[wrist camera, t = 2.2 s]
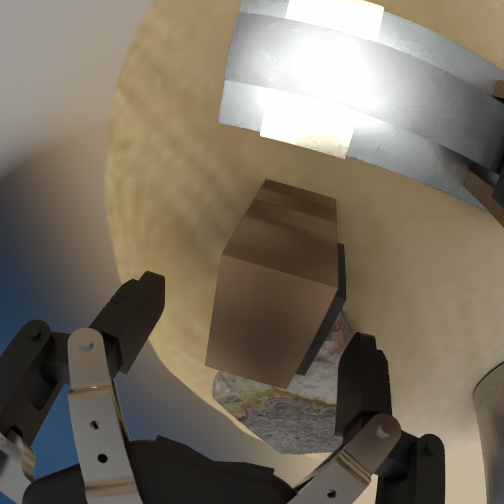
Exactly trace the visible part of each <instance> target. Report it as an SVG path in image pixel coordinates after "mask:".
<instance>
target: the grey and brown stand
mask: <svg viewBox="0 0 504 504" xmlns="http://www.w3.org/2000/svg"><path fill="white" fill-rule="evenodd" d="M383 10H384V7H382V6H379V5H376V4H373V3H370V2H367V1H364V0H242V3H241V8H240V12H238V14H237V19H236V23H235V28H234V33H233V37H232V42H231V47H230V52H229V57H228V62H227V67H226V72H225V78H224V80H225V86H224V91H223V97H222V102H221V108H220V114H219V120H218V123H222V124H227V125H232V126H237V127H241V128H246V129H251V130H255V131H259V132H260V136H262V137H267V138H271V139H275V140H279V141H283V142H287V143H290V144H294V145H298V146H302V147H305V148H309V149H312V150H316V151H319V152H323V153H326V154H329V155H333V156H336V157H339V158H342V159H345V157H346V155H347V156H350V157H353V158H356V159H359V160H362V161H365V162H368V163H371V164H374V165H376V166H379V167H382V168H385V169H388V170H390V171H393V172H396V173H398V174H401V175H404V176H406V177H409V178H411V179H414V180H416V181H419V182H421V183H424V184H426V185H429V186H431V187H433V188H436V189H438V190H440V191H443V192H445V193H447V194H450V195H452V196H454V197H456V198H459V199H461V200H463V201H465V202H467V203H469V204H471V205H473V206H476V207H478V208H480V209H482V210H484V211H486V212H488V213H490V214H492V215H493V216H494V218H495V219H496V220H497V221H498V222H499V223H500V224H501V225H502V226H503V227H504V71H503V70H501V69H500V68H498V67H497V66H495V65H494V64H492V63H490V62H489V61H487V60H486V59H484V58H482V57H481V56H479V55H477V54H476V53H474V52H472V51H470V50H469V49H467V48H465V47H463V46H461V45H460V44H458V43H456V42H454V41H452V40H450V39H448V38H446V37H444V36H442V35H440V34H438V33H436V32H434V31H432V30H429V29H427V28H425V27H423V26H420V25H418V24H416V23H413V22H411V21H409V20H406V19H404V18H401V17H398V16H396V15H393V14H390V13H388V12H385V11H383Z"/></svg>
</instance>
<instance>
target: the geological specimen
mask: <svg viewBox="0 0 504 504" xmlns="http://www.w3.org/2000/svg"><path fill="white" fill-rule="evenodd" d="M354 335H355V334H354V332H353V330H352V329H351V327H350V325H349V323H348V321H347V319H346V317H345V315H344V314H343V312H342V310H341V311H340V313H339V315H338V317H337V319H336V321H335V323H334V324H333V326H332V328H331V330H330V332H329V334H328V336H327V338H326V339H325V341H324V343H323V345H322V347H321V348H320V350H319V352H318V354H317V356H316V357H315V359H314V361H313V363H312V364H311V366H310V368H309V369H308V371H307V373H306V375H305V376H302V375H298V374H295V375H294V377H293V379H292V380H291V382H290V384H289V386H288V388H287V389H282V388H278V387H275V386H271V385H267V384H263V383H260V382H256V381H253V380H249V379H246V378H243V377H239V376H236V375H233V374H230V373H226V372H223V371H219V372H218V373H217V375H216V376H215V378H214V380H213V390H212V395H213V398H214V399H215V400H216V401H217V402H218V403H219V404H220V405H221V406H222V407H223V408H224V409H226V410H227V411H228V412H229V413H230V414H231V415H232V416H233V417H235V418H236V419H237V420H238V421H239V422H241V423H242V424H244V425H245V426H246V427H247V428H248V429H249V430H250V431H252V432H253V433H254V434H255V435H257V436H258V437H259V438H261V439H262V440H263V441H264V442H266V443H267V444H268V445H270V446H271V447H272V448H273V449H275V450H276V451H277V452H279V453H281V454H299V455H300V454H308V453H322V452H334V451H335V450H336V449H337V448H338V447H339V446H340V445H341V444H342V443H343V437H342V436H335V435H334V433H335V420H336V403H337V382H338V365H339V360H340V358H341V355H342V354H343V352H344V350H345V349H346V347H347V346H348V344H349V343H350V341H351V339H352V338H353V336H354Z"/></svg>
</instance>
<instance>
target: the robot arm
mask: <svg viewBox="0 0 504 504" xmlns="http://www.w3.org/2000/svg"><path fill="white" fill-rule="evenodd" d="M164 305H165V277H164V276H162V275H159V274H156V273H153V272H150V271H146V272H145V273H144V274H143V275H142V277H141V278H140V279H139V281H138V280H135V279H131V280H129V281H128V282H126V283H124V284H123V285H122V286H121V287H120V288H119V289H118V290H117V292H116V293H115V295H114V296H113V297H112V298H111V299H110V302H108V303H107V304H106V306H105V307H104V308H103V310H102V311H101V312H100V313H99V315H98V316H97V317H96V319H95V320H94V321H93V322H92V324H91V325H90V326H89V327H88V328H82V329H78V330H76V331H75V332H73V333H72V334H65V333H58V332H52V331H51V330H50V327H49V325H47V323H46V322H44V321H41V320H32V321H29V322H28V323H26V324H25V325H24V326H23V327H22V328H21V330H20V331H19V332H18V333H17V335H16V336H15V337H14V339H13V340H12V342H11V343H10V344H9V345H8V347H7V348H6V350H5V351H4V352H3V354H2V356H1V357H0V491H1V492H3V493H4V494H5V495H7V496H8V497H9V498H11V499H12V500H14V501H15V502H17V503H18V504H352V503H353V502H354V501H355V500H356V499H357V498H358V497H359V496H360V494H361V493H362V492H363V491H364V490H365V489H366V488H367V486H368V485H369V484H370V482H371V478H370V477H371V476H372V474H373V473H374V474H376V475H378V484H377V492H376V501H375V504H445V450H444V445H443V442H442V441H441V439H440V438H439V437H437V436H436V435H434V434H425V435H423V436H422V437H421V438H418V437H415V436H413V435H411V434H408V433H406V432H404V431H403V430H401V427H400V424H399V422H398V421H397V420H396V419H395V418H394V417H393V416H392V407H391V393H390V383H389V374H388V372H389V371H388V361H387V359H386V357H385V355H384V353H383V351H381V350H377V349H376V340H375V337H374V336H372V335H368V334H364V333H360V332H357V333H355V335H354V336H353V338H352V339H351V341H350V343H349V344H348V346H347V347H346V349H345V350H344V352H343V354H342V355H341V358H340V360H339V365H338V382H337V403H336V420H335V433H334V435H335V436H342V437H343V443H342V444H341V445H340V446H339V447H338V448H337V449H336V450H335V451H334V452H333V453H332V454H331V455H330V456H329V457H328V458H327V459H326V460H324V461H323V462H322V463H321V464H320V465H319V466H318V467H317V468H316V469H315V470H314V471H313V472H312V473H310V474H309V475H308V476H307V477H305V478H304V479H303V480H301V481H300V482H299V483H298V484H296V485H295V486H294V487H293V488H291V486H290V485H288V484H287V483H286V482H285V481H283V480H282V479H280V478H279V477H277V476H275V475H273V473H274V469H273V468H269V467H264V466H259V465H255V464H250V463H246V462H219V461H218V462H217V461H213V460H210V459H209V458H207V457H205V456H203V455H202V454H200V453H198V452H197V451H195V450H193V449H191V448H190V447H188V446H187V445H185V444H182V443H178V442H176V441H173V440H170V439H168V438H165V437H162V436H160V435H158V436H157V438H156V440H135V441H130V438H129V435H128V431H127V428H126V425H125V422H124V419H123V415H122V411H121V407H120V403H119V398H118V394H117V389H116V385H115V380H114V378H115V376H116V374H117V372H118V371H120V372H122V373H124V374H127V373H128V371H129V369H130V368H131V366H132V364H133V362H134V361H135V359H136V357H137V356H138V354H139V352H140V350H141V349H142V347H143V345H144V343H145V342H146V340H147V338H148V337H149V335H150V333H151V332H152V330H153V328H154V327H155V325H156V323H157V322H158V320H159V318H160V317H161V315H162V312H163V309H164ZM64 384H70V385H71V391H69V394H68V399H69V407H70V414H71V421H72V427H73V433H74V439H75V444H76V449H77V453H78V458H79V463H78V464H76V465H73V466H71V467H68V468H65V469H63V470H60V471H57V472H55V473H52V474H50V475H47V476H44V477H41V478H38V479H36V480H35V477H34V473H33V468H34V464H35V454H34V451H33V449H32V448H31V445H32V443H33V441H34V439H35V437H36V435H37V433H38V431H39V429H40V427H41V425H42V423H43V421H44V420H45V418H46V416H47V414H48V412H49V410H50V408H51V406H52V405H53V403H54V401H55V399H56V397H57V396H58V394H59V392H60V390H61V388H62V387H63V385H64ZM473 402H474V407H475V411H476V416H477V422H478V427H479V434H480V440H481V446H482V454H483V461H484V470H485V481H486V496H487V504H504V363H503V364H502V365H500V366H499V367H497V368H496V369H495V370H493V371H492V372H491V373H490V374H488V375H487V376H486V377H485V378H484V379H483V380H482V381H481V383H480V384H479V385H478V386H477V388H476V390H475V392H474V394H473Z"/></svg>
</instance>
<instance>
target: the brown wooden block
mask: <svg viewBox="0 0 504 504" xmlns="http://www.w3.org/2000/svg"><path fill="white" fill-rule="evenodd" d="M345 301H346V277H345V256H344V245H343V244H340V243H337V218H336V199H333V198H330V197H326V196H323V195H320V194H316V193H313V192H310V191H306V190H303V189H299V188H296V187H292V186H289V185H285V184H281V183H278V182H274V181H270V180H267V179H266V180H265V182H264V184H263V185H262V187H261V189H260V190H259V192H258V194H257V195H256V197H255V199H254V200H253V202H252V204H251V205H250V207H249V209H248V210H247V212H246V214H245V216H244V217H243V219H242V221H241V222H240V224H239V226H238V227H237V229H236V231H235V232H234V234H233V236H232V238H231V239H230V241H229V243H228V244H227V246H226V248H225V249H224V251H223V253H222V256H221V262H220V268H219V274H218V281H217V287H216V294H215V300H214V307H213V314H212V320H211V327H210V334H209V341H208V348H207V356H206V363H205V366H208V367H211V368H214V369H217V370H220V371H223V372H226V373H230V374H233V375H236V376H239V377H243V378H246V379H249V380H253V381H256V382H260V383H263V384H267V385H271V386H275V387H278V388H282V389H287V388H288V386H289V384H290V382H291V380H292V379H293V377H294V375H295V374H298V375H302V376H305V375H306V373H307V371H308V369H309V368H310V366H311V364H312V363H313V361H314V359H315V357H316V356H317V354H318V352H319V350H320V348H321V347H322V345H323V343H324V341H325V339H326V338H327V336H328V334H329V332H330V330H331V328H332V326H333V324H334V323H335V321H336V319H337V317H338V315H339V313H340V311H341V309H342V307H343V305H344V303H345Z"/></svg>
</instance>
